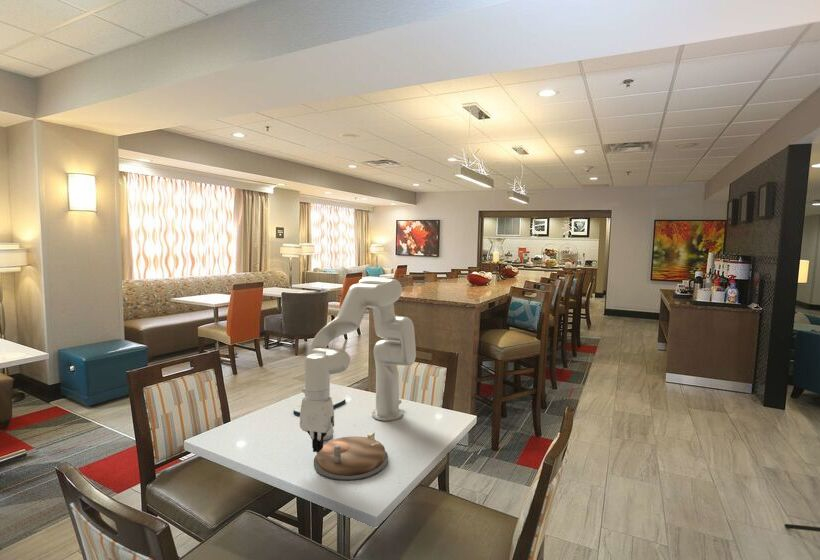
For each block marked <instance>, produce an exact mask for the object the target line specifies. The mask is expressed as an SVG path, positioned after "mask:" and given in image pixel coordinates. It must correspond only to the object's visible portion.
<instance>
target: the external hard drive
mask: <svg viewBox="0 0 820 560" xmlns="http://www.w3.org/2000/svg"><path fill="white" fill-rule="evenodd" d="M330 397H331V398H332V403H333V409H337V408H338V407H340V406H343V405H345V403H346V398H345V397H343V396H339V395H335V394H330ZM300 410H301V405H299V406H297V407H295V408H294V409H293V410H292V411H293V414H294V415H296V416H297V415H298V416H297V417H300Z"/></svg>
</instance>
